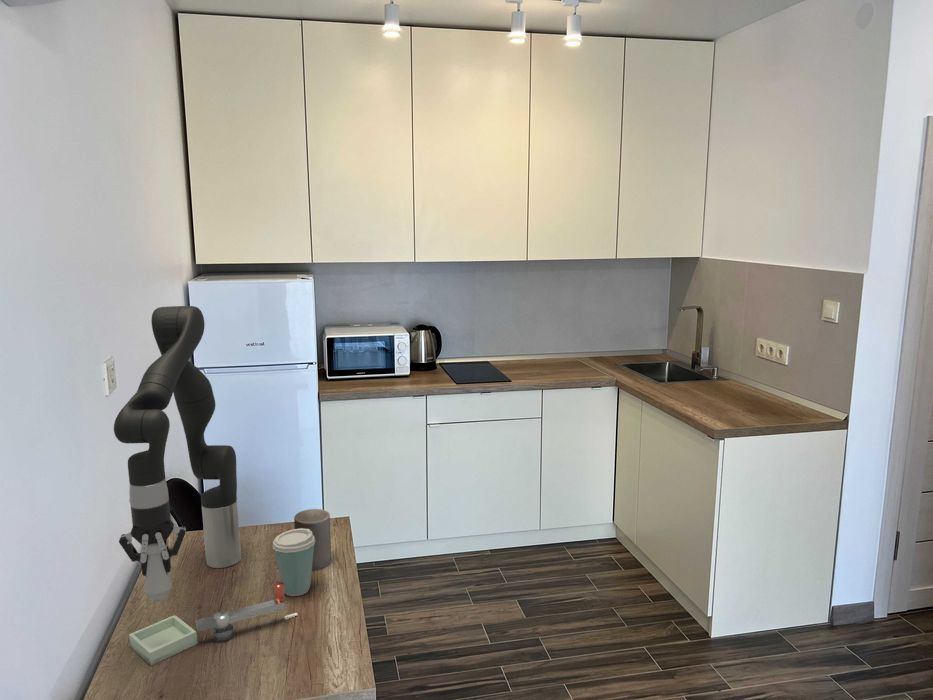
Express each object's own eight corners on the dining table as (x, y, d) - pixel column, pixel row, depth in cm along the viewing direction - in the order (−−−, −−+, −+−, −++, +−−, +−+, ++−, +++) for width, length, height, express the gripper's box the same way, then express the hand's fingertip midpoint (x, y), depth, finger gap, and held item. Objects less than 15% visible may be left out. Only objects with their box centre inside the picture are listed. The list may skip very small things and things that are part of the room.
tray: (130, 646, 156) (129, 634, 155) (175, 626, 163) (174, 615, 163) (151, 665, 149) (149, 652, 148) (197, 643, 157) (196, 631, 156)
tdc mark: (285, 619, 166) (285, 617, 166) (284, 618, 166) (284, 616, 166) (297, 616, 167) (297, 614, 167) (296, 614, 168) (296, 612, 168)
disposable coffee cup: (276, 604, 173) (273, 547, 170) (273, 583, 183) (270, 529, 180) (320, 596, 176) (317, 540, 173) (315, 576, 186) (312, 523, 183)
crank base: (209, 637, 159) (209, 629, 159) (227, 628, 162) (226, 620, 162) (219, 644, 156) (218, 636, 156) (237, 636, 159) (236, 627, 159)
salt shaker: (162, 604, 151) (157, 548, 149) (139, 602, 152) (133, 546, 150) (178, 591, 156) (173, 536, 154) (156, 588, 158) (150, 534, 155)
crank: (198, 638, 155) (195, 609, 154) (196, 630, 158) (193, 602, 157) (287, 614, 164) (285, 586, 163) (283, 606, 167) (281, 580, 166)
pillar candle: (289, 568, 191) (286, 516, 188) (306, 552, 200) (304, 502, 197) (322, 572, 188) (319, 520, 185) (338, 556, 197) (336, 506, 195)
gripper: (186, 490, 156) (192, 562, 159) (116, 498, 152) (124, 572, 155) (183, 502, 149) (190, 577, 152) (110, 511, 145) (119, 588, 148)
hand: (157, 574), depth 153 cm, fingers closed on salt shaker, 3 cm apart
